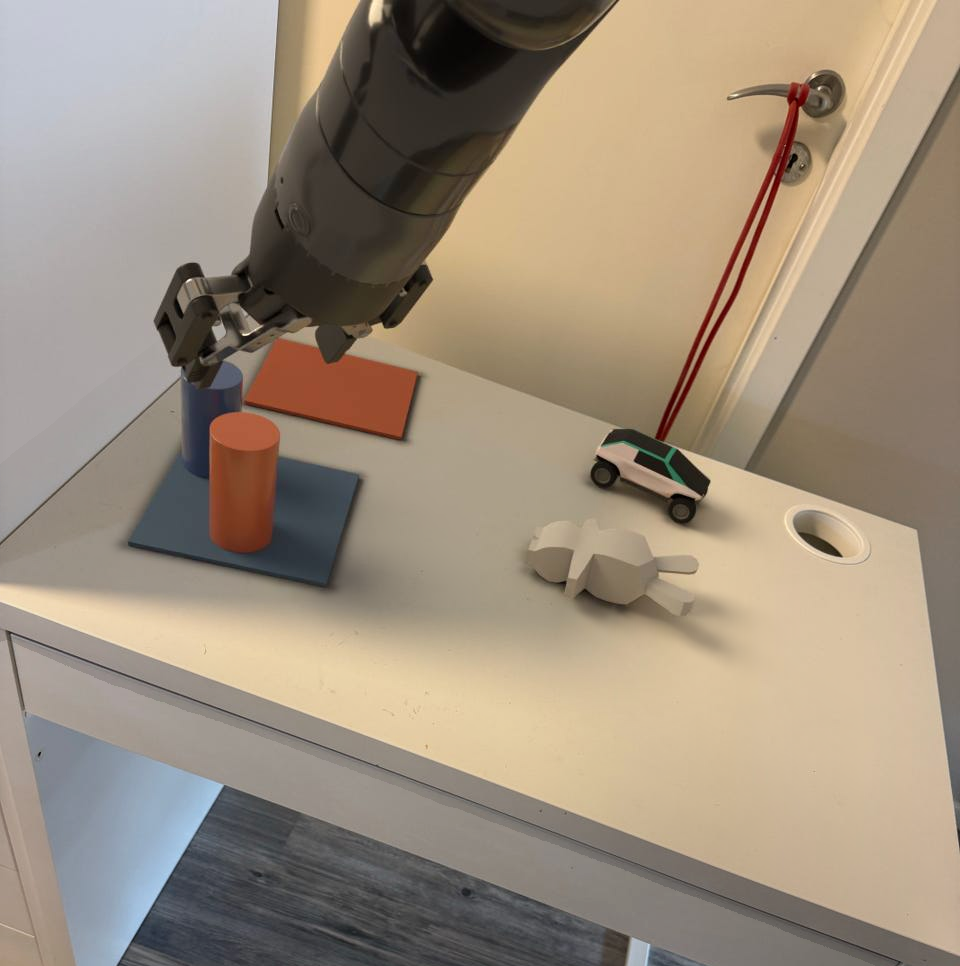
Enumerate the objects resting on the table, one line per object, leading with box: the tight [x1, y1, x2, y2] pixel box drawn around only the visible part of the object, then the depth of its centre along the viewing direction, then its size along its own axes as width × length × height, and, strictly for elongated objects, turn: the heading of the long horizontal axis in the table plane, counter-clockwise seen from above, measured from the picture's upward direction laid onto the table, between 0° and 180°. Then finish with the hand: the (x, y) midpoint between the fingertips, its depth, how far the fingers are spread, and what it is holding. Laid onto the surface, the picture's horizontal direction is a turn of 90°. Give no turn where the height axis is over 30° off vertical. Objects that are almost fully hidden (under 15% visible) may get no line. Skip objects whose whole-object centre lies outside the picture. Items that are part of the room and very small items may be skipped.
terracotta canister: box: [209, 411, 281, 553], centre depth 70 cm, size 5×5×10 cm
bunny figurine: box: [525, 518, 700, 617], centre depth 78 cm, size 10×5×15 cm
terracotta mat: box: [243, 337, 419, 441], centre depth 93 cm, size 16×14×1 cm
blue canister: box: [180, 359, 244, 478], centre depth 76 cm, size 5×5×9 cm
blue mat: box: [127, 448, 360, 588], centre depth 76 cm, size 16×16×1 cm
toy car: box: [589, 428, 712, 524], centre depth 91 cm, size 6×12×5 cm, turn 64°
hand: (262, 361), depth 53 cm, fingers open, 8 cm apart
